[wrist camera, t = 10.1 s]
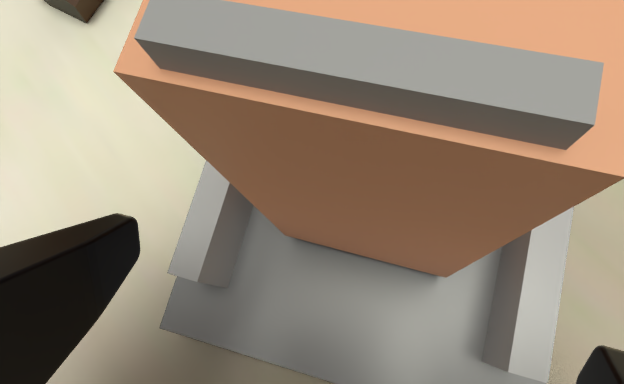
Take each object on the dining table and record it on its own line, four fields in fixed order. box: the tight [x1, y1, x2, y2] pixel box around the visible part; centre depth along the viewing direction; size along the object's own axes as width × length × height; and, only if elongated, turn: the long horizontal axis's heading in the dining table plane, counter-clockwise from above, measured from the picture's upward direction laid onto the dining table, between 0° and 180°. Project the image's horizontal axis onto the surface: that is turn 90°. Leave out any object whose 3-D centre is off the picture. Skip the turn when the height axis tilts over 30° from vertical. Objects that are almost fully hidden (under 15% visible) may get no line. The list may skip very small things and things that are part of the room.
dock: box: [160, 160, 574, 384], centre depth 16 cm, size 13×13×5 cm
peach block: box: [113, 0, 624, 278], centre depth 11 cm, size 4×6×13 cm
